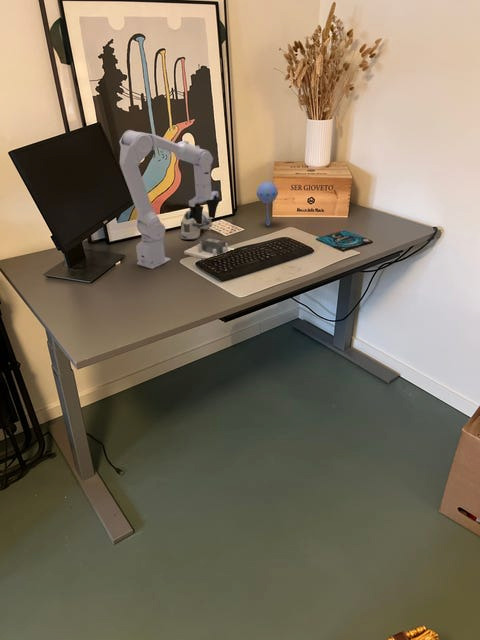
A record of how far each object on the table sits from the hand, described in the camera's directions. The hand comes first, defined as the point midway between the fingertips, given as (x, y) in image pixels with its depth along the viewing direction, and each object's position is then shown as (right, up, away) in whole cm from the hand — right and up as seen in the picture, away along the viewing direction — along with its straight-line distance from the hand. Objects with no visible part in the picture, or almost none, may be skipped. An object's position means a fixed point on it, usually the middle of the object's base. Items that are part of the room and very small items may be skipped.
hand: (205, 220), depth 180 cm
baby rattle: (+24, +2, +23) cm, 33 cm away
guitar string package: (+53, -8, +5) cm, 53 cm away
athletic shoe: (-5, -1, +20) cm, 20 cm away
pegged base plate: (+2, -12, -2) cm, 13 cm away
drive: (+3, -12, -3) cm, 13 cm away
